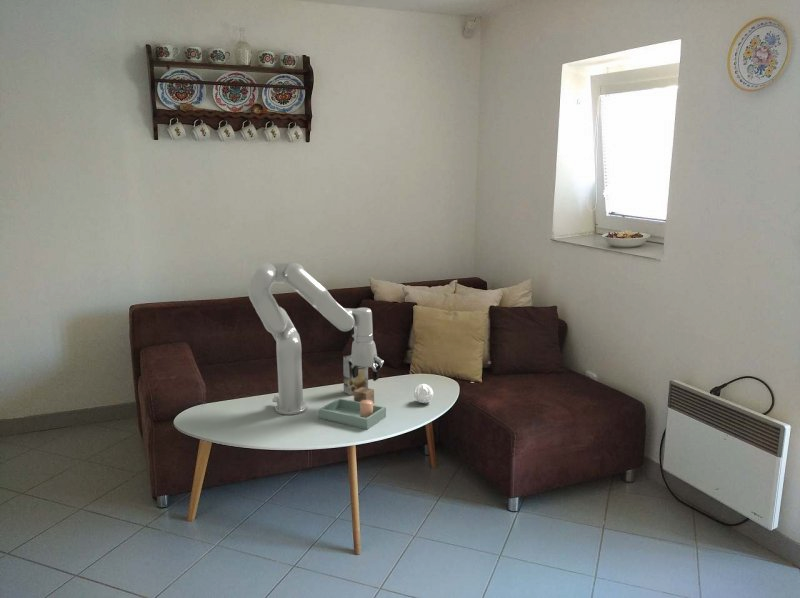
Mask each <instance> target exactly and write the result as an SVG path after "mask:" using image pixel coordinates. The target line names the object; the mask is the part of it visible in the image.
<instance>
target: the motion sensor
mask: <svg viewBox="0 0 800 598" xmlns="http://www.w3.org/2000/svg"><path fill="white" fill-rule="evenodd" d="M413 396H414V398H415V400H416V401H417V402H418V403H420V404H427V403H429V402H430V401H431V400H432V399H433V397H434V391H433V388H432V387H431V386H430V385H428V384H426V383H422V384H421V383H420V384H418V385H417V386H416V387H415V388H414V392H413Z"/></svg>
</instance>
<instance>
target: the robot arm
mask: <svg viewBox="0 0 800 598" xmlns="http://www.w3.org/2000/svg"><path fill="white" fill-rule="evenodd" d="M274 284H287V285H288V286H289V287H290V288H291V289H293V290H294V291H295V292H296V293H297V294H299V295H300V297H302V298H303V299H304V300H305V301H306V302H308V303H309V304H310V305H311V306H312V307H313V308H314V309H315V310H317V312H319V313H320V314H321V315H322V316H323V317H324V318H325V319H326V320H328V321H329V322H330V323H331V324H332V325H333V326H334V327H336V329H338V330H339V331H341V332H349V331H351V330H352V329H353V332H354V333H353V334H352V335H351V337H352V338H353V341H352V344H351V354H350V356H349V355H347V356H348V357H346V359H347V361H348V363H349V365H350V366H351V368H352V374H353V378H355V377H357V376H358V367H357V366H362V367H368V368H371V369H372V381H374V382H376V381H378V380H379V376H380V375H379V374H380V373H379V370H380V369H382V368H383V364H384V363H385V361H384V360H383V359H381V358H380V357H379V356H378V353H377V352H378V351H377V348H376V347H377V346H376V343H375V341H374V333H373V312H372V310H371V308H368V307H357V308H350V307H349V308H348V307H347V308H346V307H343V306H342V305H341V304H340V303H338V302H337V301H336V299H334V298H333V296H332V295H331V293H330V292H329V291H328V289H326V287H325V286H323V285H322V284H321V283H320V281H319V282H318V280H316V279H315V278H314V277H313V276H312V275H311V274H309V272H307V271H306V270H305V268H304V267H303V265H301V264H300V263H297V262H263V263H261V264H259V265H257V266H256V268H255V269H254V272H253V275H252V276H251V278H250V280H249V282H248V286H247V295H248V298H249V300H250V302H251V304H252V306H253V308H254V309H255V312H256V314H257V315H258V317H259V319H260V321H261V323H262V324H263V326H264V328H265V330H266V331H267V332H268V333H270V334H271V335H272V337H273V339H274V341H275V342H276V348H275V350H276V364H277V365H276V367H277V368H276V369H277V385H278V387H277V388H278V389H277V390H278V395H274V396H273V399H272V402H273V403H276V406H275V412H276V413H278V414H281V415H289V416H290V415H298V414H302V413H304V412H305V411H307V409H308V405H307V403H305V402H304V397H303V396H304V393H303V370H302V369H303V368H302V367H303V365H302V342H301V337H300V334H299V332H298V329H296V327H295V325H294V323H293V322H292V320H291V318H290V316H289V315H288V313H287V311H286V310H285V308H282V306H280V305H279V304H278V302H277V300H276V298H275V297H274V296H273V294H272V289H271V288H272V287H273V285H274Z"/></svg>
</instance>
